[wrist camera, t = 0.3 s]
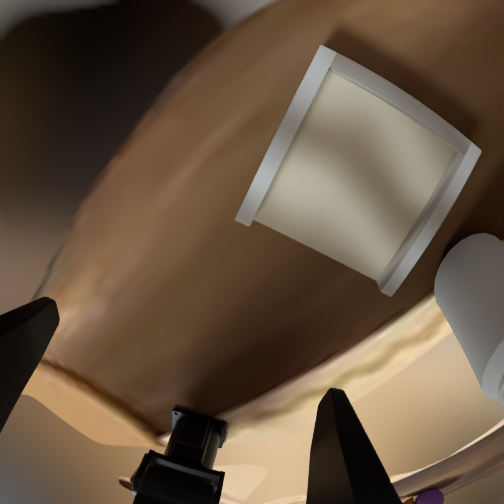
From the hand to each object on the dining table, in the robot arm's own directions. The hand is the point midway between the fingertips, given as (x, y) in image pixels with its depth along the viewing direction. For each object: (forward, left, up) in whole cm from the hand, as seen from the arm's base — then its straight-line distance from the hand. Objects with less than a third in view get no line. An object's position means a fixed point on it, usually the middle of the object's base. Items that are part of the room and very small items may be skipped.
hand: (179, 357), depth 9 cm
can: (-1, -18, -15) cm, 23 cm away
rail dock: (+4, -7, -14) cm, 16 cm away
